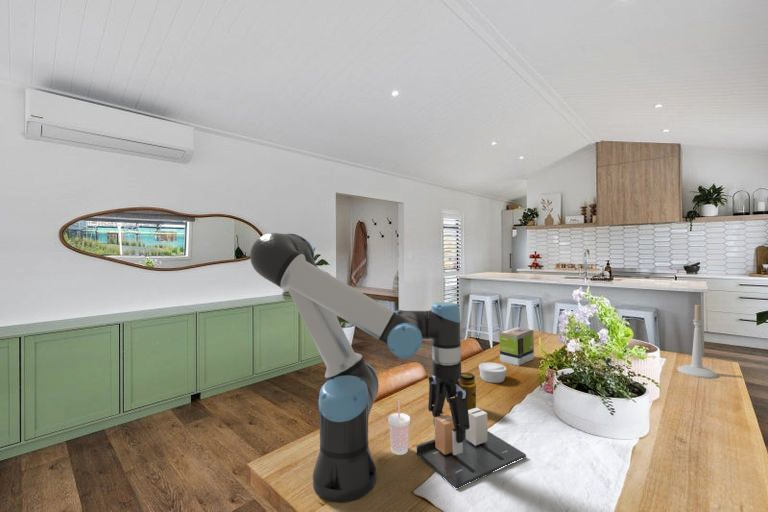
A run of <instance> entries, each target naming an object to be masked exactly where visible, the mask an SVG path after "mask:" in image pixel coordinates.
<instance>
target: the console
mask: <svg viewBox="0 0 768 512" xmlns="http://www.w3.org/2000/svg"><path fill="white" fill-rule="evenodd" d="M463 435H464V436H463V437H464V440H463V442H462V443H463V452H462V453H460V454H457V455H453V452H451V453H448V454H446V455H444V454H443V453H442V452H441V451H439V450H438V449H437V448H436V447H435V438H433V439H432V440H429V441H425V442H422V443H419V444H417V445H416V455H417V456H418V457H419V458H420V459H421V460H423V462H424V463H426V464H427V465H428V466H429V467H430V468H431V469H433V470H434V471H435V473H437V472H438V473H439V474H440V475H441V476H442V477H441V476H440V475H439V474H438V473H437V474H438V475H439V476H440V477H441V478H443V477H444V478H445V479H446V480H447V481H448V482H449V483H450V484H451V485H453V486H454V487H455V488H458V489H460V488H459V487H461V486H463V485H465V484H467V483H469V482H472V481H474V480H476V479H478V478H481V477H483V476H485V475H487V476H489V475H491V474H490V473H492V472H493V471H495V470H497V469H499V468H501V467H503V466H505V465H508V464H510V463H512V462H514V461H517V460H519V459H521V458H524V457H526V458H527V454H526V453H525V452H522V451H521V450H519V449H518V448H517V447H515V446H513V445H511V443H510V444H509V443H508V442H506V441H505V440H503V439H501V438H500V437H498V436H497V435H496V434H493V433H492V432H490V431H489V430H487V442H484V443H481V444H479V445H476V446H475V445H474V444H472V443H471V442H470V441H468V440H467V439H466V430H464V431H463ZM488 474H489V475H488ZM492 474H493V473H492ZM485 477H486V476H485ZM444 478H443V479H444ZM483 478H484V477H483ZM445 479H444V480H445ZM481 479H482V478H481ZM446 480H445V481H446ZM478 480H479V479H478ZM447 481H446V482H447ZM476 481H477V480H476ZM448 482H447V483H448ZM474 482H475V481H474ZM449 483H448V484H449ZM472 483H473V482H472ZM450 484H449V485H450ZM451 485H450V486H451ZM467 485H468V484H467ZM453 486H452V487H453ZM465 486H466V485H465ZM454 487H453V488H454ZM463 487H464V486H463ZM455 488H454V489H455ZM461 488H462V487H461Z"/></svg>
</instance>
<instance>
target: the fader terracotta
mask: <svg viewBox="0 0 768 512" xmlns="http://www.w3.org/2000/svg"><path fill="white" fill-rule="evenodd" d="M452 429H454V423H453V419H452V415H451V414H450V415H449V414H446V415H443V416H441V417H438V418H435V427H434V439H435V447H436V448H437V449H438V450H439V451H441V452H442V453H443V454H444V455H446V454H448V453H451V452H453V444H452Z"/></svg>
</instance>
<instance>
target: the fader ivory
mask: <svg viewBox="0 0 768 512" xmlns="http://www.w3.org/2000/svg"><path fill="white" fill-rule="evenodd" d="M468 414H469V425H470V428H469V429H467V430H466V439H467V440H468V441H470V442H471V443H472V444H474V445H475V446H476V445H479V444H481V443H484V442H487V431H488V412H486V411H484V410H483V409H480V407H476V408H474V409H470V410H468Z"/></svg>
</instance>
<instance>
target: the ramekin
mask: <svg viewBox="0 0 768 512" xmlns="http://www.w3.org/2000/svg"><path fill="white" fill-rule="evenodd" d="M478 369H479V374H480V376H479V377H480V378H481V380H482V381H484V382H487V383H490V384H491V383H492V384H494V383H495V384H499V383H503V382H504V381H505V379H506V373H507V367H506V366H505V365H504V364H502V363H498V362H482V363H480V364H479V365H478Z"/></svg>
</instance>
